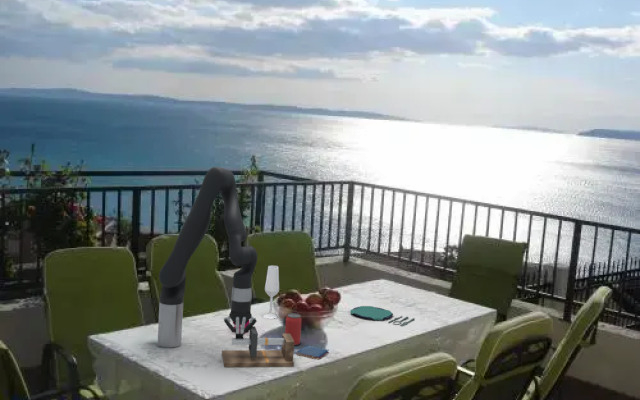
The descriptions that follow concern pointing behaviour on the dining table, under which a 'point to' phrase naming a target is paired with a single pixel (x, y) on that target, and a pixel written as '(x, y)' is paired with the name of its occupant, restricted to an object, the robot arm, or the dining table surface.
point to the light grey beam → (259, 341)
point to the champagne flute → (272, 287)
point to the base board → (262, 356)
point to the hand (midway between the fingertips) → (239, 342)
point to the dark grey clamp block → (253, 341)
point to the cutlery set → (376, 314)
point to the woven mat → (312, 352)
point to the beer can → (294, 327)
